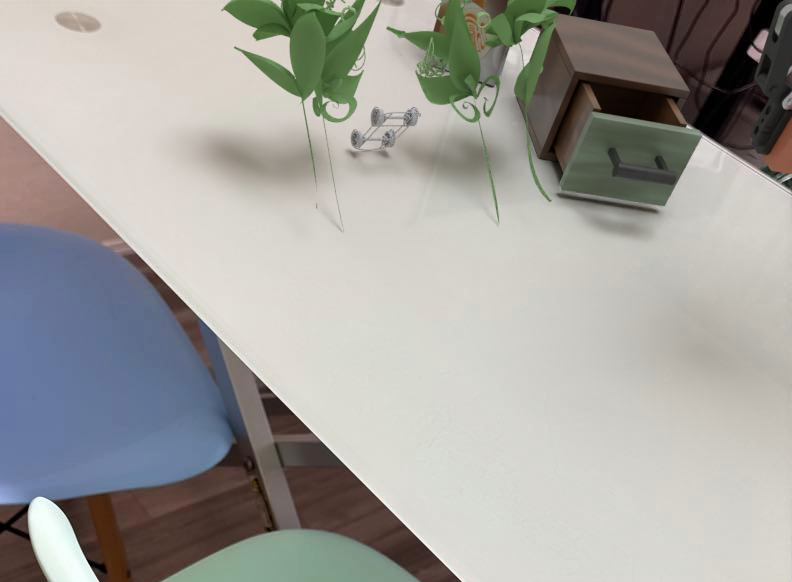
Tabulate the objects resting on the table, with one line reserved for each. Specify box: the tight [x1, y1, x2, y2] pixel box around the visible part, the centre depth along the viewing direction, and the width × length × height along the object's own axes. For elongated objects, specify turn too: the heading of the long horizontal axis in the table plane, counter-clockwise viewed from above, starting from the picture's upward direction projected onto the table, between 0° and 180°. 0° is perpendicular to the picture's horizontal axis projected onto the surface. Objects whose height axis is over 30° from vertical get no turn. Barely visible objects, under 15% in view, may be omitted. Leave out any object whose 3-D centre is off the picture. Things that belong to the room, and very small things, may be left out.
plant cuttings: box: [220, 0, 577, 231], centre depth 93 cm, size 35×17×22 cm
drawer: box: [552, 79, 703, 207], centre depth 102 cm, size 18×11×8 cm, turn 0°
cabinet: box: [515, 13, 691, 163], centre depth 108 cm, size 15×13×10 cm
